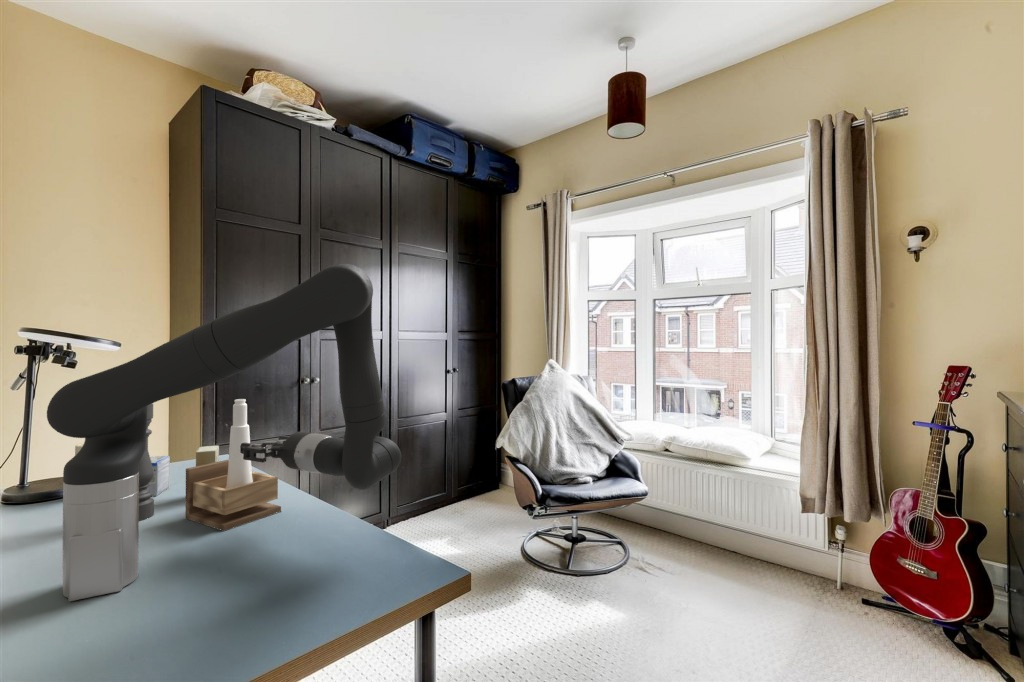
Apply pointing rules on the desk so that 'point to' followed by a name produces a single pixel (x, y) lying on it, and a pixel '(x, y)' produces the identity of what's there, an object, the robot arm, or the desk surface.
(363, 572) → the desk surface
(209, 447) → the skincare box
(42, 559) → the desk surface
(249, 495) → the wooden box caddy
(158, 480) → the medicine box
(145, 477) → the candle holder
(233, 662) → the desk surface
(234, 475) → the cosmetic bottle
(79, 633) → the desk surface
